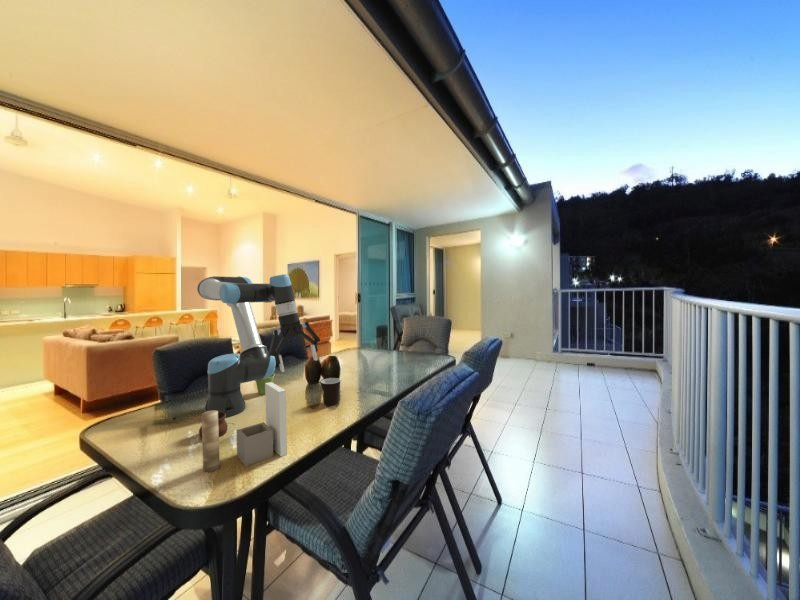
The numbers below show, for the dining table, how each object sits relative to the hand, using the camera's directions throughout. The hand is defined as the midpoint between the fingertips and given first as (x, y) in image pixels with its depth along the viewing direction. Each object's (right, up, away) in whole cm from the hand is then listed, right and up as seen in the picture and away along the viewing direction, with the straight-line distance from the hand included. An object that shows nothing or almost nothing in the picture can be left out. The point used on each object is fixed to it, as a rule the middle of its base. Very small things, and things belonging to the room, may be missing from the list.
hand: (299, 365), depth 122 cm
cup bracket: (-3, -22, -27) cm, 35 cm away
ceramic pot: (-26, -22, -14) cm, 37 cm away
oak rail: (-14, -22, -35) cm, 43 cm away
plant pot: (-27, -20, +30) cm, 45 cm away
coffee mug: (+9, -20, +17) cm, 28 cm away
